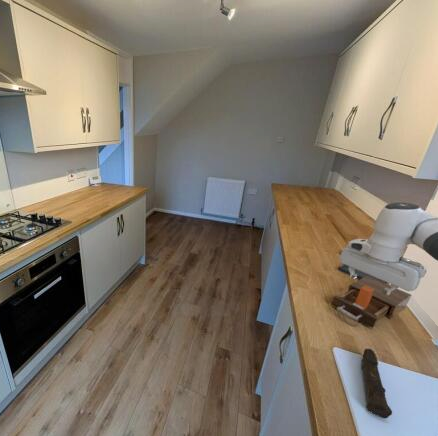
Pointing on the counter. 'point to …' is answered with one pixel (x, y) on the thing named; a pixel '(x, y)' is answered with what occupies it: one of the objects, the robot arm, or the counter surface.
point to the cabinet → (394, 300)
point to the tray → (360, 274)
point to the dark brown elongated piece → (374, 386)
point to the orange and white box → (364, 297)
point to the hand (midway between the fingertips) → (368, 285)
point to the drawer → (366, 316)
